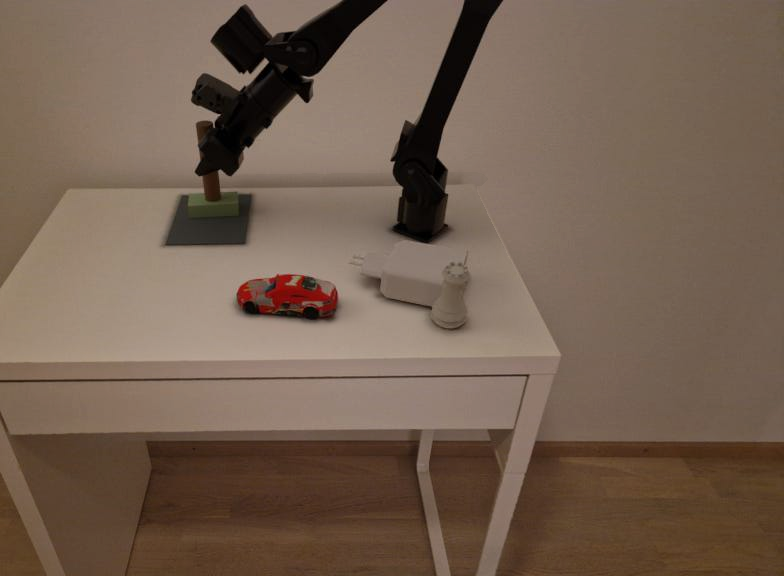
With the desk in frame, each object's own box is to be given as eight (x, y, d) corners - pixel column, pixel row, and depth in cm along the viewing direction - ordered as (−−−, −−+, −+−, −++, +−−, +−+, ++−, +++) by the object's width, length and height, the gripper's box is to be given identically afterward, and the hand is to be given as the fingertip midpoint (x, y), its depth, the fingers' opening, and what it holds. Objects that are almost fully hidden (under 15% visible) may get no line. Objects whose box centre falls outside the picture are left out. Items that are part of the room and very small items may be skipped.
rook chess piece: (426, 307, 76) (433, 257, 70) (461, 304, 76) (470, 254, 70) (434, 332, 73) (442, 281, 67) (470, 328, 73) (481, 278, 67)
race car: (232, 313, 76) (229, 287, 74) (243, 290, 80) (240, 264, 78) (333, 323, 74) (334, 296, 72) (339, 299, 78) (340, 273, 76)
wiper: (238, 203, 100) (231, 117, 91) (239, 215, 96) (231, 127, 87) (190, 206, 99) (178, 119, 90) (189, 218, 96) (176, 129, 87)
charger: (359, 258, 86) (463, 277, 82) (339, 291, 80) (451, 314, 75) (361, 228, 83) (469, 247, 79) (340, 261, 77) (457, 283, 72)
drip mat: (244, 244, 90) (244, 242, 90) (165, 245, 90) (165, 243, 90) (251, 195, 103) (251, 194, 103) (182, 196, 103) (181, 195, 103)
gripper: (235, 39, 89) (176, 112, 98) (204, 74, 75) (137, 156, 84) (289, 95, 94) (227, 161, 102) (268, 138, 79) (199, 210, 88)
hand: (199, 170), depth 94 cm, fingers closed on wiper, 2 cm apart
